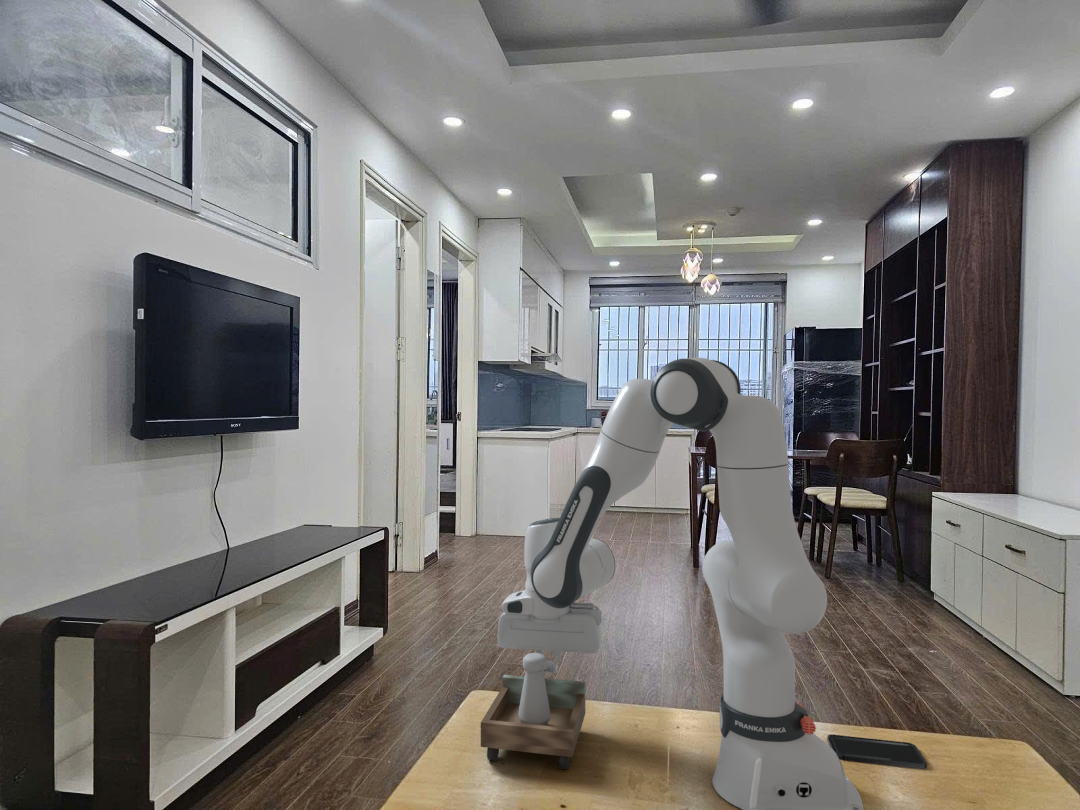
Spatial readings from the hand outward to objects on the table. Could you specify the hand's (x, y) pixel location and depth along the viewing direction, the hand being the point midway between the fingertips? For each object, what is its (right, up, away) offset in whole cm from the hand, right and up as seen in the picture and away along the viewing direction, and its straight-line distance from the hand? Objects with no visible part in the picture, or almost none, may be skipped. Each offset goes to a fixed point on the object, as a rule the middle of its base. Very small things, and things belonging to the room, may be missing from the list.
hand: (549, 671), depth 130 cm
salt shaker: (-3, -6, -11) cm, 13 cm away
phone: (+58, -11, -11) cm, 60 cm away
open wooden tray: (-3, -10, -9) cm, 14 cm away
